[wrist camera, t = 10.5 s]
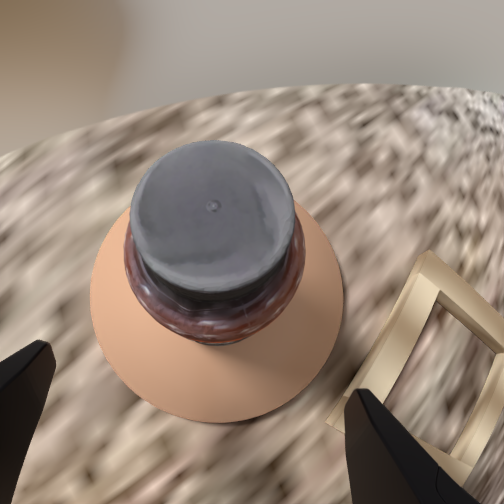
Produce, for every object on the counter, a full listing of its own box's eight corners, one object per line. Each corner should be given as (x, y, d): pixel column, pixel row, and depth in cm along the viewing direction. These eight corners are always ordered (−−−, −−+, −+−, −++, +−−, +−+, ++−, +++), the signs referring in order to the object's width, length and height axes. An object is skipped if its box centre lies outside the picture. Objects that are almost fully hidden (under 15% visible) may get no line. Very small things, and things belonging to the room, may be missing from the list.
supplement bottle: (232, 225, 19) (253, 83, 9) (289, 309, 18) (386, 246, 8) (144, 276, 18) (62, 173, 7) (198, 367, 17) (168, 390, 6)
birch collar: (448, 485, 16) (459, 490, 15) (324, 422, 17) (333, 427, 16) (514, 343, 20) (525, 341, 19) (418, 255, 21) (429, 249, 20)
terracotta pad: (161, 456, 16) (159, 461, 15) (67, 237, 19) (61, 232, 18) (376, 343, 19) (383, 342, 18) (266, 152, 23) (268, 143, 22)
